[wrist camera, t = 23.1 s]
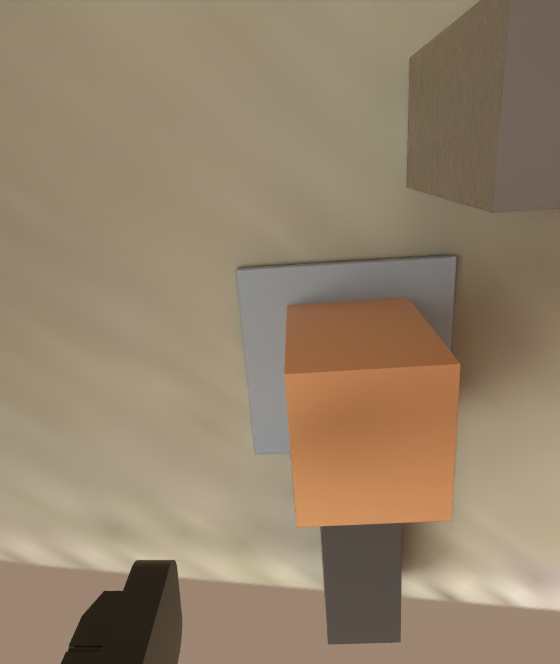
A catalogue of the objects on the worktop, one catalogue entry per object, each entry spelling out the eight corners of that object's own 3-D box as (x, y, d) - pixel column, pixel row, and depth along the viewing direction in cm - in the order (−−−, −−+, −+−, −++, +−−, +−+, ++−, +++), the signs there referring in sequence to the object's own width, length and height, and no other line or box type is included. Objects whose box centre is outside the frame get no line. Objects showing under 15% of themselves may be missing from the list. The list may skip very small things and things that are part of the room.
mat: (255, 448, 21) (254, 454, 20) (237, 267, 18) (235, 270, 18) (442, 440, 20) (444, 446, 20) (453, 254, 18) (456, 257, 17)
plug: (308, 584, 23) (312, 725, 17) (286, 305, 18) (284, 374, 12) (403, 581, 23) (439, 722, 17) (407, 297, 18) (460, 363, 12)
